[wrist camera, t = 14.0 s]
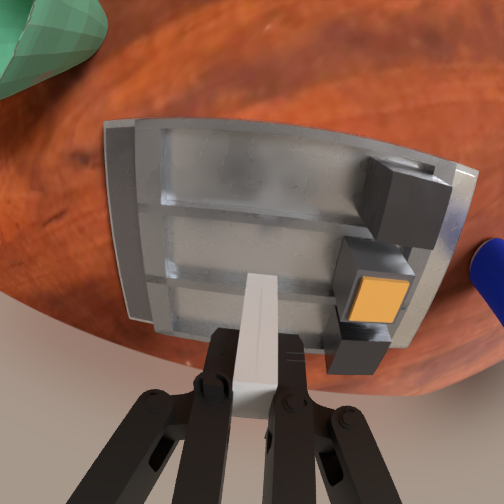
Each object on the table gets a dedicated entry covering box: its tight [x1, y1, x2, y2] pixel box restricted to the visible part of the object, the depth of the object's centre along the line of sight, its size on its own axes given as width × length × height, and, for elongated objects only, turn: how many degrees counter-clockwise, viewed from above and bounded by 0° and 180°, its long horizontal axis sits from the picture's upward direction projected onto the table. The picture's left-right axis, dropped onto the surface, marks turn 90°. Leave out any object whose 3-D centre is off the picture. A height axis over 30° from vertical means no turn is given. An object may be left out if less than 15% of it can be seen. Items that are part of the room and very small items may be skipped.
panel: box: [104, 116, 479, 375], centre depth 18 cm, size 26×17×6 cm, turn 85°
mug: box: [0, 0, 108, 100], centre depth 9 cm, size 15×10×10 cm
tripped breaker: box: [332, 237, 416, 324], centre depth 17 cm, size 4×4×4 cm
